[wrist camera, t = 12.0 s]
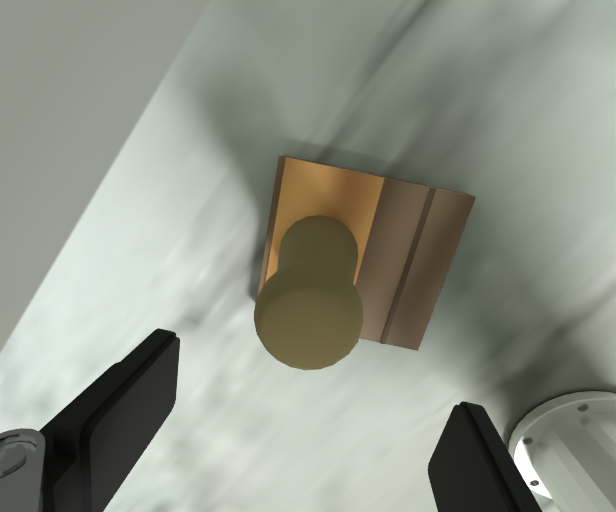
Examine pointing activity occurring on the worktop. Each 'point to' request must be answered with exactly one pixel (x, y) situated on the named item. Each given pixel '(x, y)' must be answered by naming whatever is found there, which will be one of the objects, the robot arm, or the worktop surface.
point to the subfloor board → (376, 239)
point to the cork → (311, 296)
